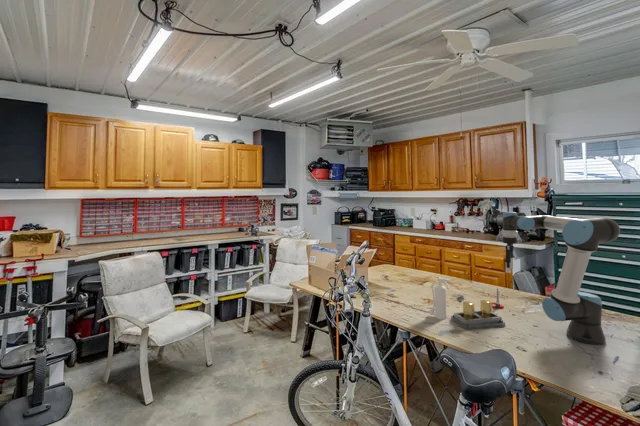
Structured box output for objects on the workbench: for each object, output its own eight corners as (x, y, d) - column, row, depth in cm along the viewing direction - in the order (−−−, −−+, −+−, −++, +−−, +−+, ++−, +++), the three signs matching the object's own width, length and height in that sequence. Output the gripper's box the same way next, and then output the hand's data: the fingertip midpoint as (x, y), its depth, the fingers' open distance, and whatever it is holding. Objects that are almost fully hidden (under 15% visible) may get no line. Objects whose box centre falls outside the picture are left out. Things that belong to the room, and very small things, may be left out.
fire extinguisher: (429, 313, 196) (430, 275, 193) (449, 316, 190) (451, 277, 188) (427, 317, 190) (428, 278, 187) (448, 321, 184) (450, 280, 182)
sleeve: (494, 319, 178) (494, 302, 178) (485, 320, 177) (485, 303, 177) (487, 316, 184) (487, 299, 184) (478, 316, 183) (478, 300, 183)
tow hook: (486, 303, 210) (491, 308, 201) (485, 285, 210) (491, 288, 201) (499, 304, 209) (505, 308, 200) (499, 285, 208) (505, 289, 199)
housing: (505, 326, 174) (505, 305, 174) (466, 330, 171) (466, 309, 170) (487, 315, 189) (487, 296, 188) (451, 319, 186) (451, 299, 185)
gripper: (514, 239, 179) (514, 275, 180) (518, 234, 199) (518, 266, 200) (500, 239, 183) (499, 274, 185) (505, 233, 203) (504, 265, 204)
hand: (509, 270), depth 192 cm, fingers open, 13 cm apart
